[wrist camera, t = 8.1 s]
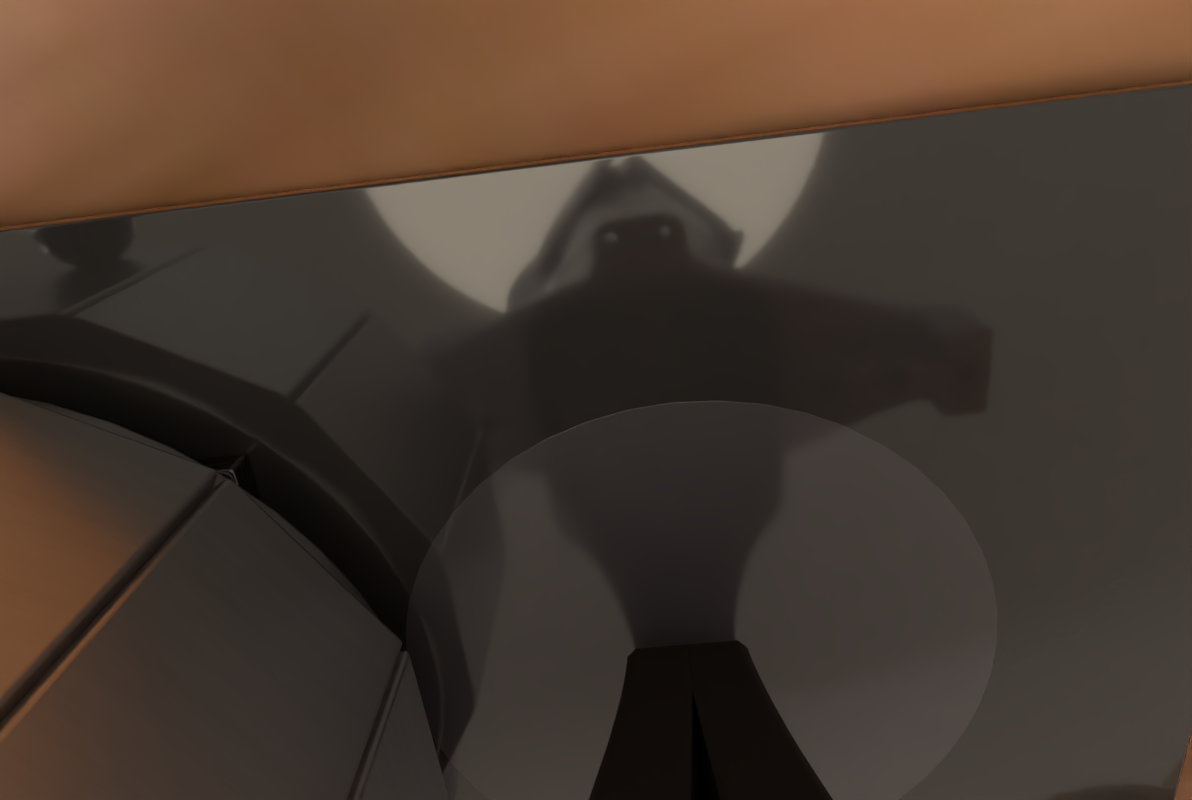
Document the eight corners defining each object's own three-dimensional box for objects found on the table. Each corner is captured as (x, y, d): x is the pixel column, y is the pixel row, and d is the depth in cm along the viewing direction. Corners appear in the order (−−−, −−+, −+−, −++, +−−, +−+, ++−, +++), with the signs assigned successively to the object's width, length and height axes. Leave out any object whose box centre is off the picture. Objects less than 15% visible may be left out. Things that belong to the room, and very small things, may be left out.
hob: (1333, 62, 8) (1360, 62, 7) (1126, 933, 13) (1138, 953, 12) (-630, 305, 9) (-669, 312, 9) (-90, 997, 14) (-103, 1016, 14)
